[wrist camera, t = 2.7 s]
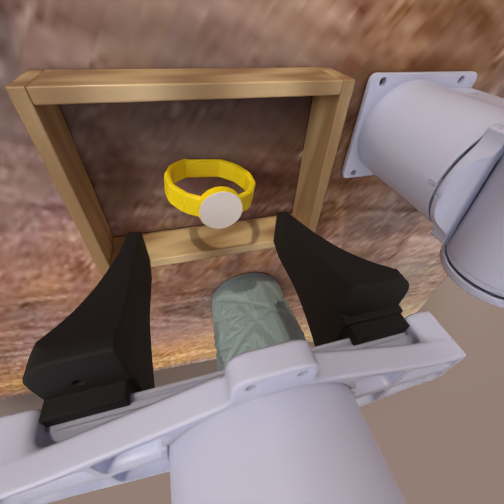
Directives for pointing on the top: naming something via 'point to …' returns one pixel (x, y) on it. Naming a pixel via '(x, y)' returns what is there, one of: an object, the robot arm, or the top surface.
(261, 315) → the green embossed cup
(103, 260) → the box
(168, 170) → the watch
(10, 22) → the top surface
